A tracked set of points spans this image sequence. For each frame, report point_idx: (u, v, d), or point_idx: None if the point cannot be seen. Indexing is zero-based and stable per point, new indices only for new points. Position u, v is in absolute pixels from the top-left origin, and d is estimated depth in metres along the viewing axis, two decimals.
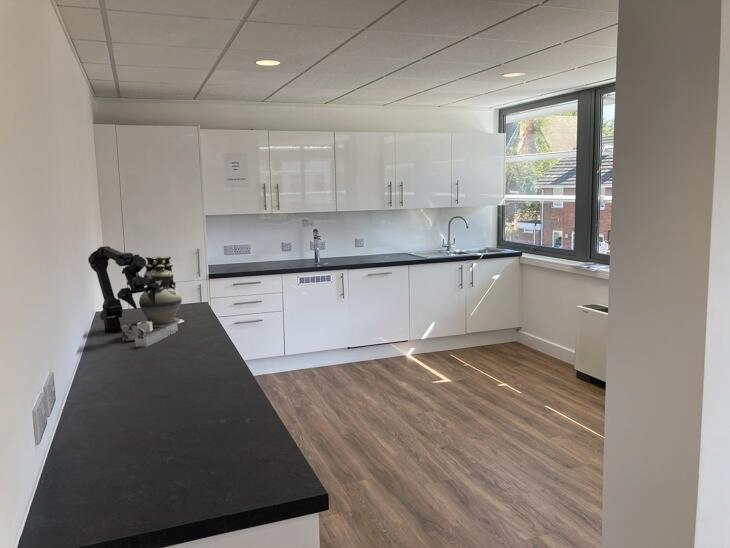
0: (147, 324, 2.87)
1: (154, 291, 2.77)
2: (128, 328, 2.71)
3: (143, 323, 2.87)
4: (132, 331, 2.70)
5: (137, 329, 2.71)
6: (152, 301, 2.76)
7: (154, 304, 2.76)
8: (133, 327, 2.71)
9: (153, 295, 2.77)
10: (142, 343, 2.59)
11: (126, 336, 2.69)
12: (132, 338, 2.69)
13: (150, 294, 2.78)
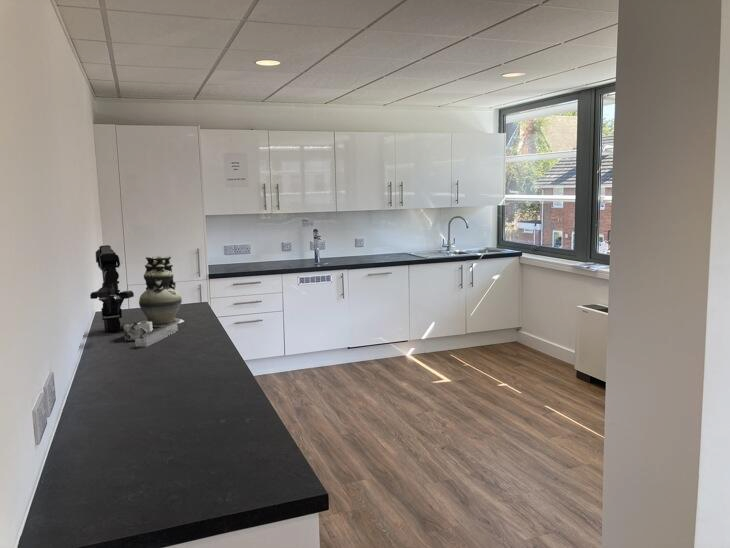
0: (147, 324, 2.87)
1: (116, 301, 2.72)
2: (130, 328, 2.72)
3: (143, 323, 2.87)
4: (134, 331, 2.71)
5: (139, 329, 2.71)
6: None
7: (116, 312, 2.75)
8: (135, 327, 2.72)
9: (116, 304, 2.73)
10: (142, 343, 2.59)
11: (128, 336, 2.70)
12: (134, 338, 2.69)
13: None
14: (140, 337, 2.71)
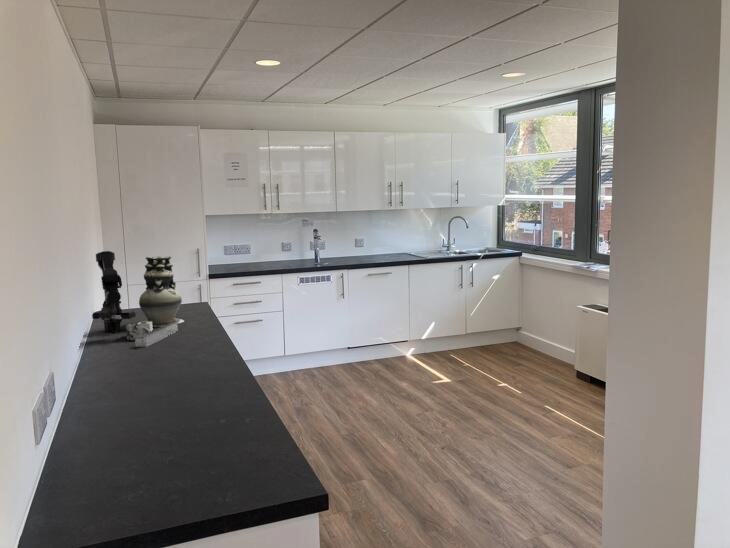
0: (147, 324, 2.87)
1: (115, 321, 2.74)
2: (133, 327, 2.73)
3: (143, 323, 2.87)
4: (137, 330, 2.71)
5: (142, 328, 2.72)
6: None
7: (115, 332, 2.76)
8: (138, 326, 2.73)
9: (114, 324, 2.75)
10: (142, 343, 2.59)
11: (131, 335, 2.70)
12: (137, 337, 2.70)
13: None
14: None
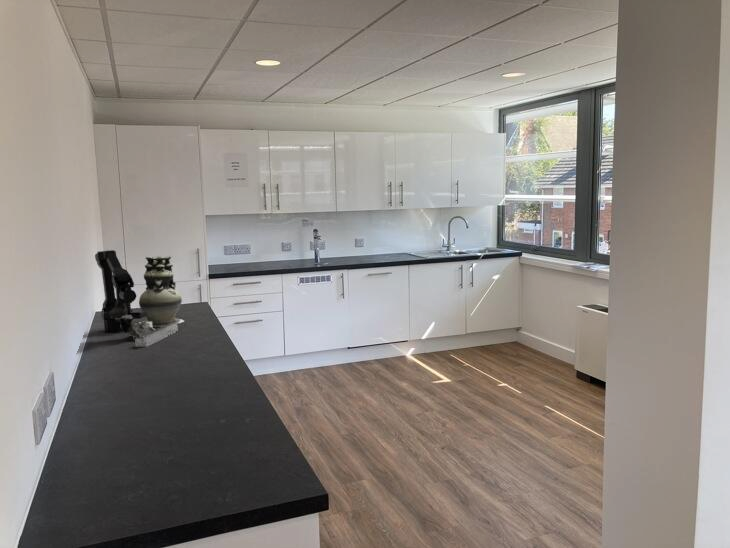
0: (147, 324, 2.87)
1: (125, 321, 2.73)
2: (139, 327, 2.73)
3: (143, 323, 2.87)
4: (143, 330, 2.72)
5: (148, 328, 2.72)
6: None
7: (125, 332, 2.75)
8: (144, 326, 2.73)
9: (125, 324, 2.74)
10: (142, 343, 2.59)
11: (137, 335, 2.71)
12: None
13: None
14: None
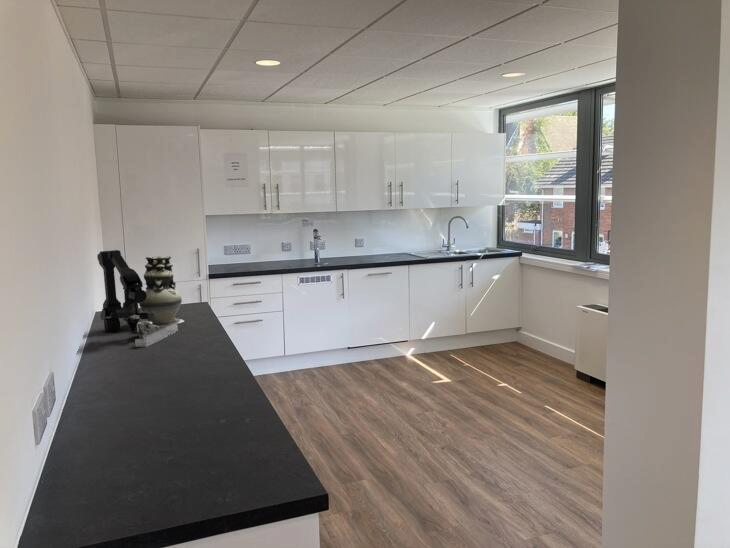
0: None
1: (132, 321, 2.72)
2: (145, 326, 2.74)
3: None
4: (149, 329, 2.72)
5: (154, 327, 2.73)
6: None
7: (132, 332, 2.75)
8: (150, 325, 2.74)
9: (132, 324, 2.73)
10: (142, 343, 2.59)
11: (143, 334, 2.71)
12: None
13: None
14: None
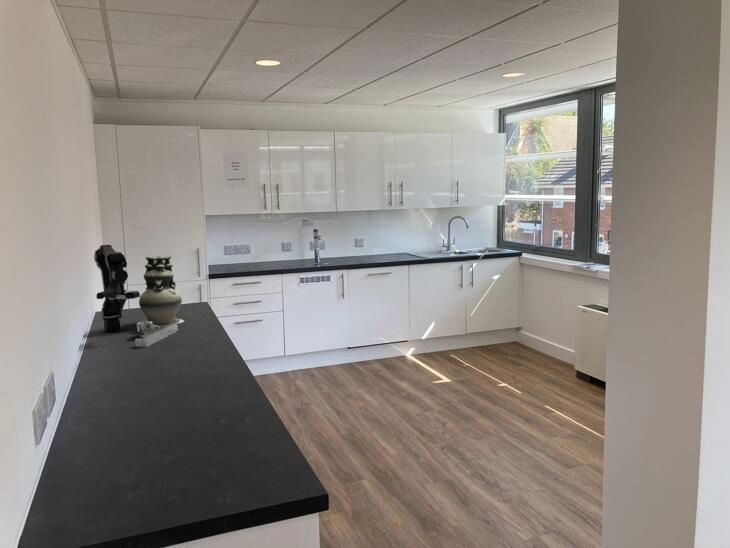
0: None
1: (119, 301, 2.72)
2: (145, 326, 2.74)
3: None
4: (150, 329, 2.73)
5: (155, 327, 2.74)
6: None
7: (119, 313, 2.75)
8: (150, 325, 2.74)
9: (119, 304, 2.73)
10: (142, 343, 2.59)
11: None
12: None
13: None
14: None
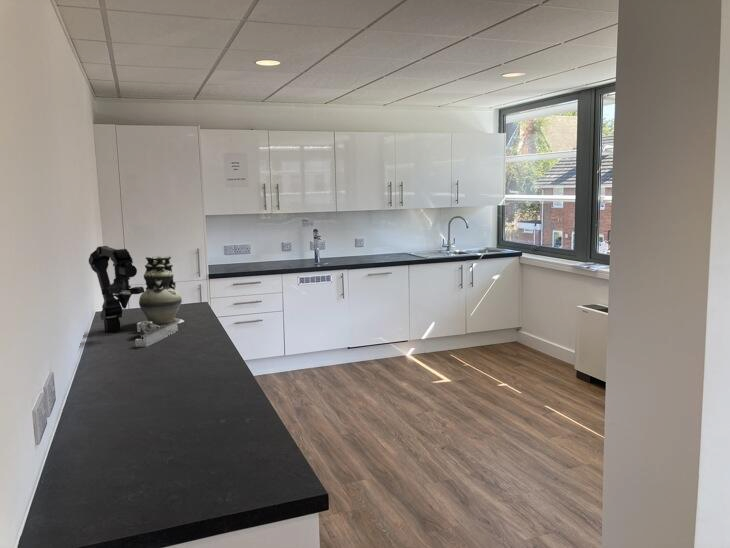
0: None
1: (124, 296, 2.78)
2: (146, 326, 2.75)
3: None
4: (150, 329, 2.74)
5: (155, 327, 2.74)
6: None
7: (124, 308, 2.80)
8: (151, 325, 2.75)
9: (123, 299, 2.79)
10: (142, 343, 2.59)
11: None
12: None
13: None
14: None
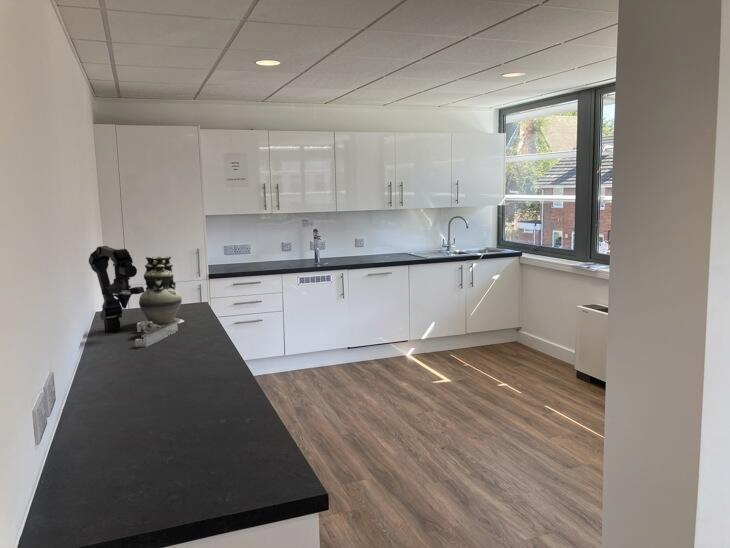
0: None
1: (124, 296, 2.78)
2: (146, 326, 2.75)
3: None
4: (151, 329, 2.74)
5: (155, 327, 2.75)
6: None
7: (124, 308, 2.80)
8: (151, 325, 2.75)
9: (123, 299, 2.79)
10: (142, 343, 2.59)
11: None
12: None
13: None
14: None
